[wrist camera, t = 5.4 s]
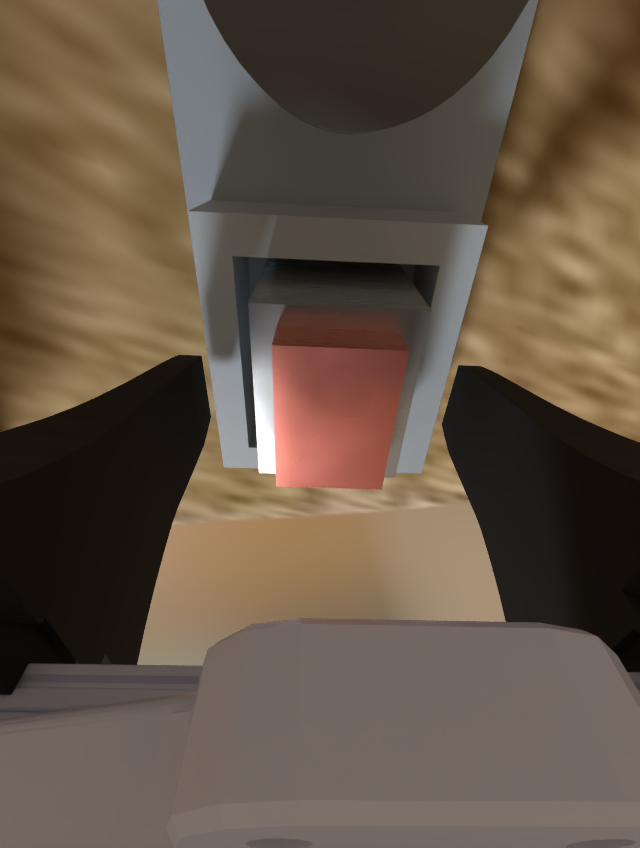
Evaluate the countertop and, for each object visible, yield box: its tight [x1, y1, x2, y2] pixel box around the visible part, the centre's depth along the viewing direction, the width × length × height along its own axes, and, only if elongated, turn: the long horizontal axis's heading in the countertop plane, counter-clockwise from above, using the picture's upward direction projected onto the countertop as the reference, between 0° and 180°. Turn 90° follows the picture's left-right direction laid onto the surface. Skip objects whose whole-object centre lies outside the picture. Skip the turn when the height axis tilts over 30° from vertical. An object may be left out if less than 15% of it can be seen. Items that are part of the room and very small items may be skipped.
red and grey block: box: [248, 258, 432, 489], centre depth 11 cm, size 4×5×6 cm
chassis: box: [158, 0, 538, 473], centre depth 11 cm, size 9×17×4 cm, turn 178°
